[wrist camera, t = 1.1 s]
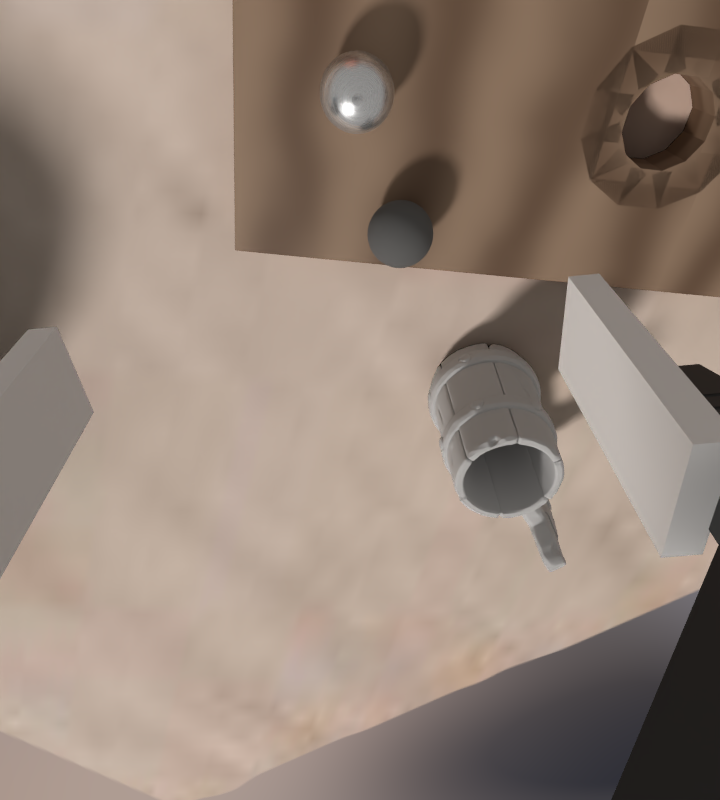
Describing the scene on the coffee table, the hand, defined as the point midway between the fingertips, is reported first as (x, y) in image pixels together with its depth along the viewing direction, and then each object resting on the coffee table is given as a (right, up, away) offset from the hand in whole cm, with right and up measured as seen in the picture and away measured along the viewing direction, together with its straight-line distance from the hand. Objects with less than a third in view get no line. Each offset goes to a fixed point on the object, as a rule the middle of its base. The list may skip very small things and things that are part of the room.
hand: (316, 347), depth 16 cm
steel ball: (+1, +13, +13) cm, 18 cm away
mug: (+11, -2, +29) cm, 30 cm away
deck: (+10, +15, +17) cm, 24 cm away
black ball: (+3, +7, +16) cm, 18 cm away
